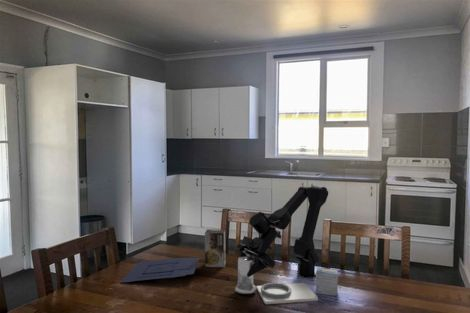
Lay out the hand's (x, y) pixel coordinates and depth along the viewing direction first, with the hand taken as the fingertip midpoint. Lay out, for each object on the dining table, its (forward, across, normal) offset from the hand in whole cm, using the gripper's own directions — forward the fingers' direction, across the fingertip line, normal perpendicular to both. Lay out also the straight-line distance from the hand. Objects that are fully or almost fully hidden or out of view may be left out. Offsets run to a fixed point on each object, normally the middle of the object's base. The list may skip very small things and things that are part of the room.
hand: (242, 273), depth 139 cm
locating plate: (-4, +10, +15) cm, 18 cm away
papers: (+18, -36, -6) cm, 41 cm away
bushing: (+4, 0, +6) cm, 7 cm away
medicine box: (-14, +18, +25) cm, 33 cm away
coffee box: (0, -32, +11) cm, 34 cm away
